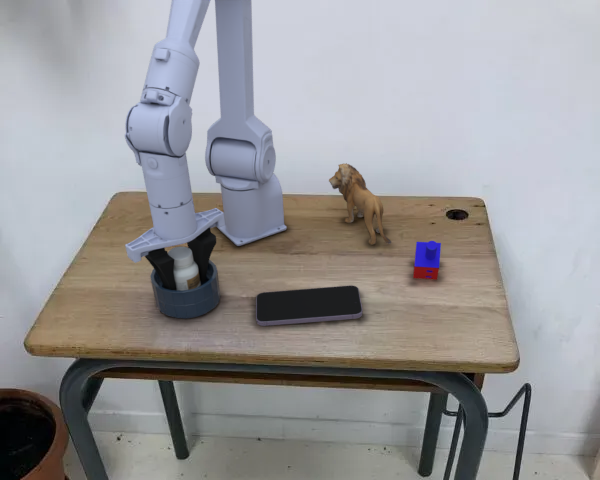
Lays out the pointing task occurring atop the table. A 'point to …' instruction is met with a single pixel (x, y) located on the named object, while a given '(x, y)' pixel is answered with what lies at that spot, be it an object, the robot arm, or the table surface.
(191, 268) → the pill bottle
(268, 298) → the smartphone
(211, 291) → the bowl
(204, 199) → the table surface
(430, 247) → the toy building block
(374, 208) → the lion figurine
